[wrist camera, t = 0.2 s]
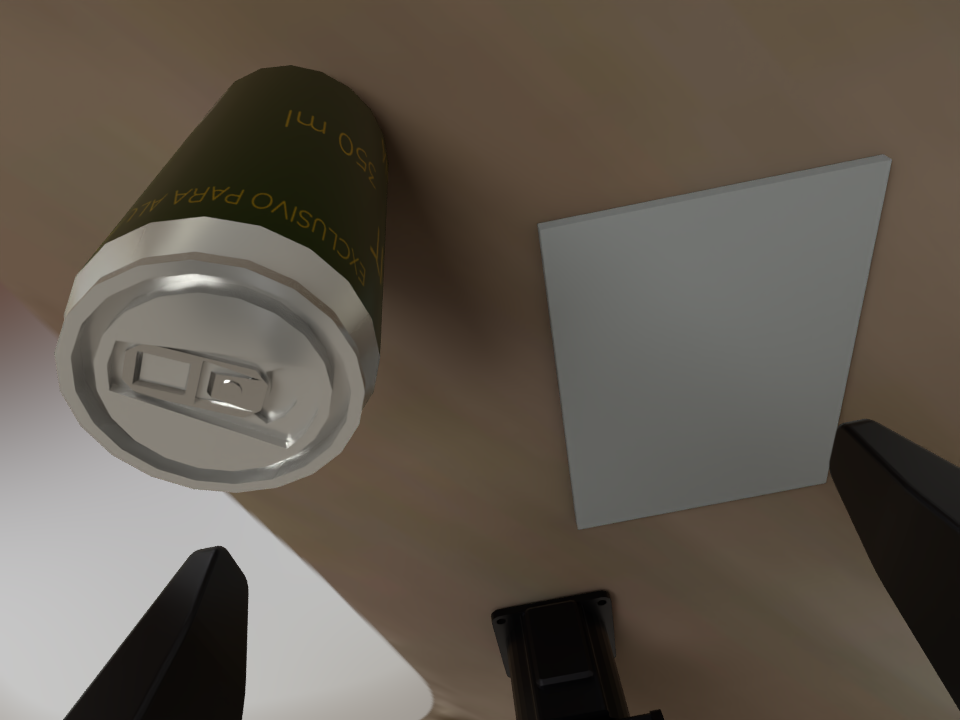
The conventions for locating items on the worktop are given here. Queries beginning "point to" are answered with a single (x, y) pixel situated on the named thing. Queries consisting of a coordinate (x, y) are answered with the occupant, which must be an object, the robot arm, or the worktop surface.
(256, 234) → the beer can
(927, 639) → the robot arm
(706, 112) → the worktop surface
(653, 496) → the grey mat
